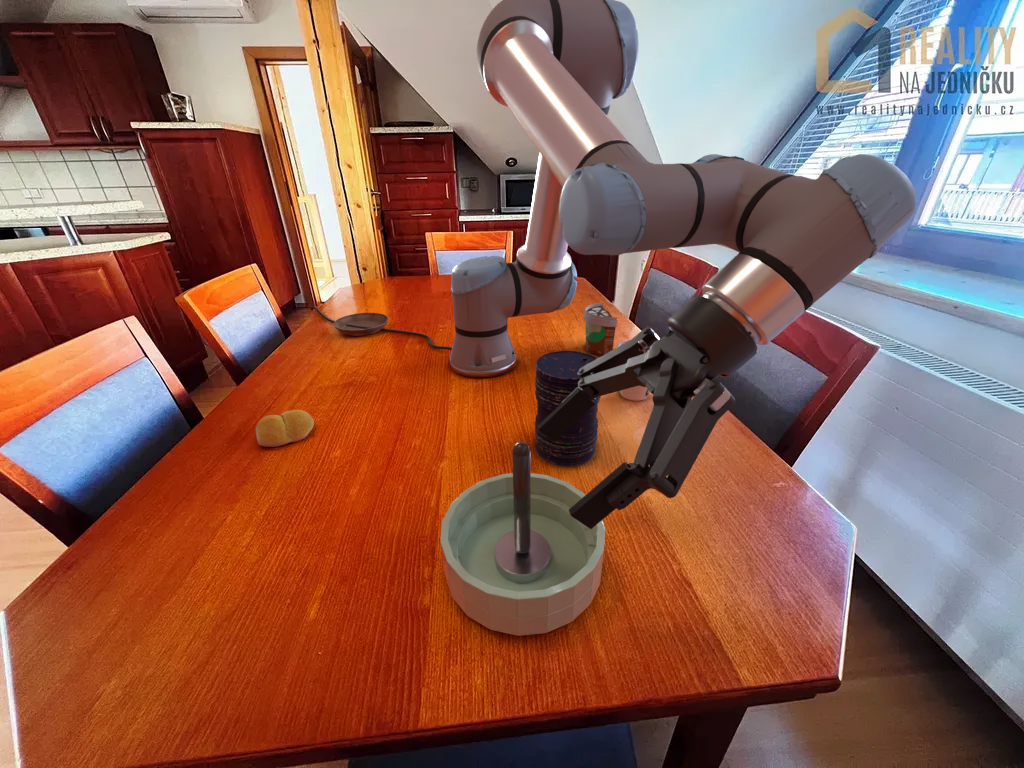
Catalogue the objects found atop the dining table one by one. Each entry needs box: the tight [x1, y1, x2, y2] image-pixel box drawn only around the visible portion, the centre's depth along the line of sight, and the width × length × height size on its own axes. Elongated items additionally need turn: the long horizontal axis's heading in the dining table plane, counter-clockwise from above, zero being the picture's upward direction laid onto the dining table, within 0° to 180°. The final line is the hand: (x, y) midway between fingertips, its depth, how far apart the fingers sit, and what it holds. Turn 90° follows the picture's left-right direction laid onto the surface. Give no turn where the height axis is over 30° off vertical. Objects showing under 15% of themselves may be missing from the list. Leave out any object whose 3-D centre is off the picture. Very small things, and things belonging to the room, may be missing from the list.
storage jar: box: [534, 350, 602, 467], centre depth 65 cm, size 10×10×15 cm
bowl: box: [439, 472, 606, 637], centre depth 47 cm, size 18×18×6 cm
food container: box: [582, 302, 618, 357], centre depth 102 cm, size 12×6×10 cm, turn 5°
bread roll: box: [255, 409, 315, 448], centre depth 73 cm, size 8×9×4 cm
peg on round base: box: [494, 441, 551, 583], centre depth 45 cm, size 6×6×16 cm
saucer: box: [332, 312, 390, 337], centre depth 119 cm, size 15×15×3 cm
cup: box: [617, 339, 651, 402], centre depth 81 cm, size 8×8×10 cm
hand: (560, 471), depth 43 cm, fingers open, 13 cm apart
